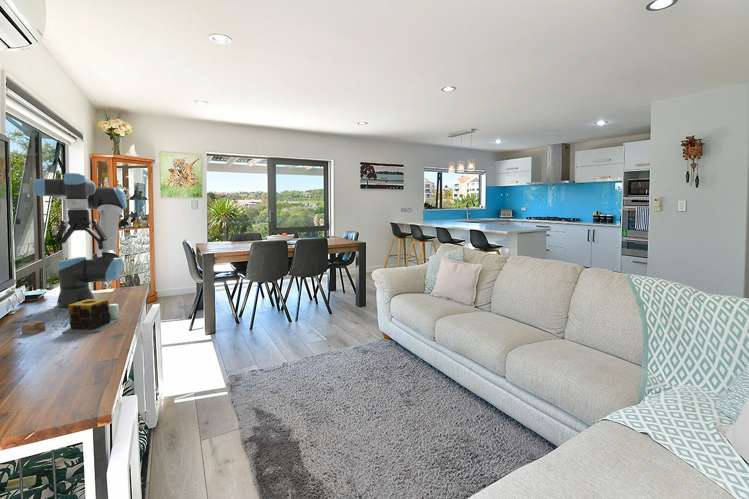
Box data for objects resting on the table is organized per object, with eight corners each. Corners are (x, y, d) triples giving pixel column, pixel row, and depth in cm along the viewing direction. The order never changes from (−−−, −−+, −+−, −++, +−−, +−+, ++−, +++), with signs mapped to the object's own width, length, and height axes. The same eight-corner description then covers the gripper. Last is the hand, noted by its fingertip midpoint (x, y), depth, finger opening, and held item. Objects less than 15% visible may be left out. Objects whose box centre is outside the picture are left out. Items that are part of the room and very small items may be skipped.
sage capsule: (110, 317, 181) (109, 303, 180) (121, 316, 181) (120, 303, 180) (105, 320, 176) (104, 306, 176) (116, 319, 177) (115, 306, 176)
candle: (91, 330, 161) (89, 305, 160) (69, 329, 162) (66, 304, 161) (111, 322, 171) (109, 299, 170) (90, 321, 172) (87, 298, 171)
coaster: (82, 322, 172) (82, 321, 172) (117, 321, 174) (117, 319, 174) (62, 333, 159) (61, 332, 159) (100, 331, 161) (100, 330, 161)
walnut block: (34, 330, 164) (33, 320, 163) (45, 330, 163) (44, 321, 162) (22, 334, 159) (21, 324, 158) (33, 334, 158) (32, 325, 157)
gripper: (40, 209, 171) (46, 259, 174) (104, 209, 175) (109, 257, 177) (52, 209, 179) (57, 256, 181) (113, 208, 182) (117, 255, 185)
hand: (83, 257), depth 179 cm, fingers open, 13 cm apart
